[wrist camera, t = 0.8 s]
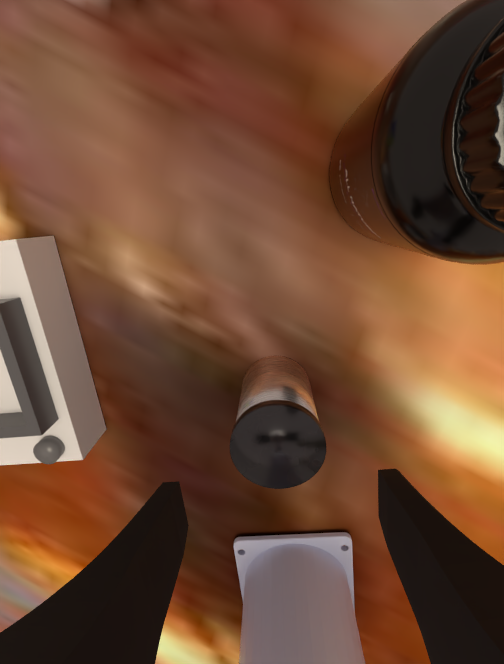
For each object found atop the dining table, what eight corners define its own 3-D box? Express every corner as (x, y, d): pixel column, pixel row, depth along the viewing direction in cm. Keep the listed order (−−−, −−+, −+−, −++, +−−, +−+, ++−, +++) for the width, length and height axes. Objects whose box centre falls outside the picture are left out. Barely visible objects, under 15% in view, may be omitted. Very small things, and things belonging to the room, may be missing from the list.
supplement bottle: (303, 211, 18) (358, 204, 7) (368, 64, 16) (603, -301, 5) (423, 264, 19) (661, 341, 7) (501, 128, 17) (1000, -62, 5)
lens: (313, 415, 22) (328, 486, 16) (245, 420, 22) (236, 491, 16) (309, 351, 21) (323, 402, 15) (236, 357, 21) (223, 410, 15)
